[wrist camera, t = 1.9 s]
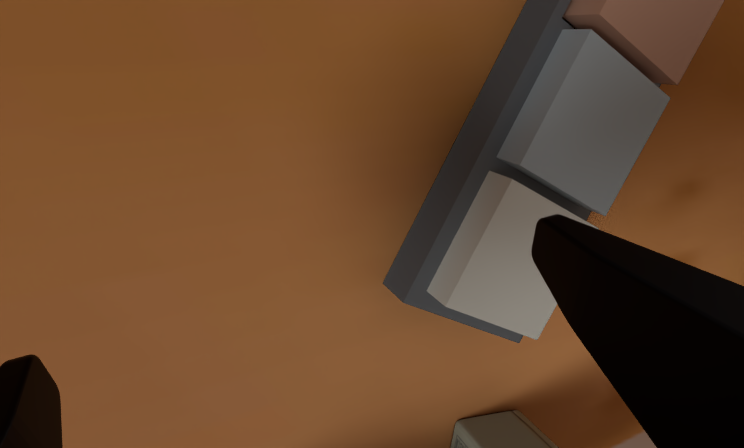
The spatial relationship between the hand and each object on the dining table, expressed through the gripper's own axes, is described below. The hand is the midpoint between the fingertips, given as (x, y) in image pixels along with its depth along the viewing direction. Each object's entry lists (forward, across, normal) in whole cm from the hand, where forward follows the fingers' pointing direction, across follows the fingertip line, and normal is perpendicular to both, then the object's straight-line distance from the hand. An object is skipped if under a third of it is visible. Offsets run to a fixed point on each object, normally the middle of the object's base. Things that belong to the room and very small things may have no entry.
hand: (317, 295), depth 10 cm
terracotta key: (+12, -17, 0) cm, 21 cm away
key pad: (+12, -13, +5) cm, 19 cm away
